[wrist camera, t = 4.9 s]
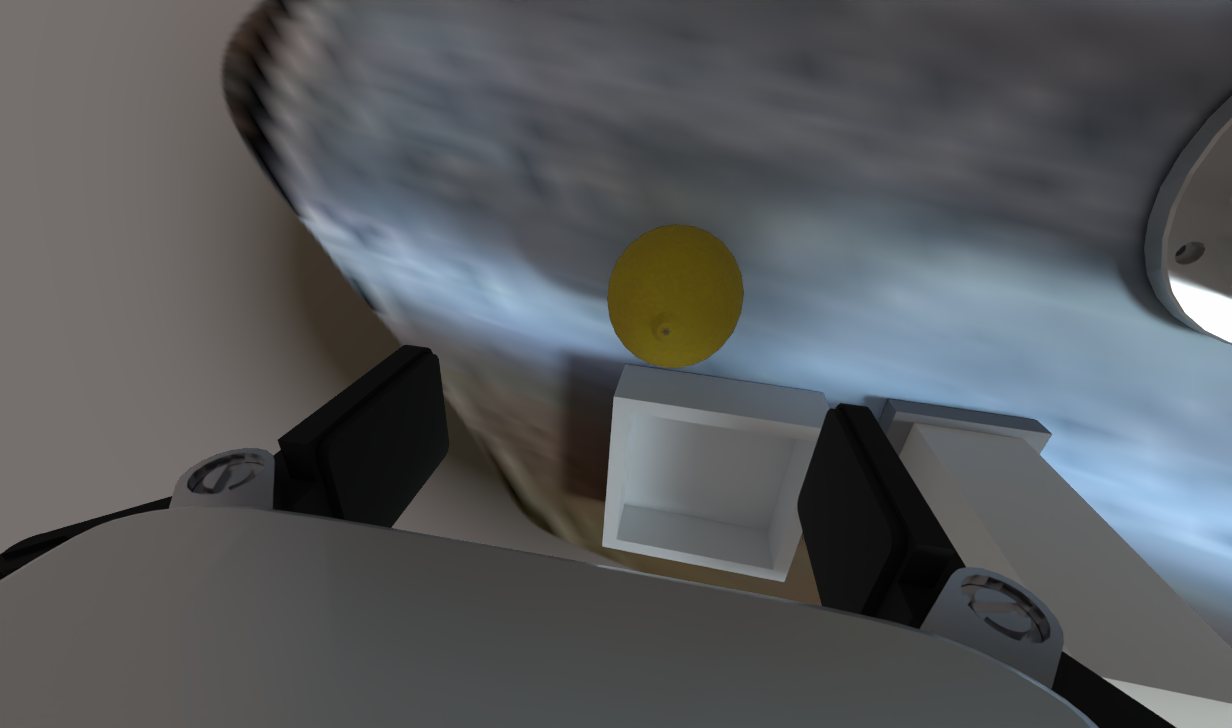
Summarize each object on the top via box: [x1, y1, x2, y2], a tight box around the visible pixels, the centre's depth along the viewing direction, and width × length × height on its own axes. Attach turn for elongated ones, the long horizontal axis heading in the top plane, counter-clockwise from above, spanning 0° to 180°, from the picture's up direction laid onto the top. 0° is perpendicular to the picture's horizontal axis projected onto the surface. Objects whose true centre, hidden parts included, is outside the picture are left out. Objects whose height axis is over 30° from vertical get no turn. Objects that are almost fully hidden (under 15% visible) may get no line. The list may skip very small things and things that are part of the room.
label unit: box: [879, 399, 1232, 728], centre depth 20 cm, size 11×7×13 cm, turn 176°
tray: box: [602, 364, 829, 582], centre depth 26 cm, size 11×11×4 cm
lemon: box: [607, 225, 744, 368], centre depth 19 cm, size 6×6×8 cm
